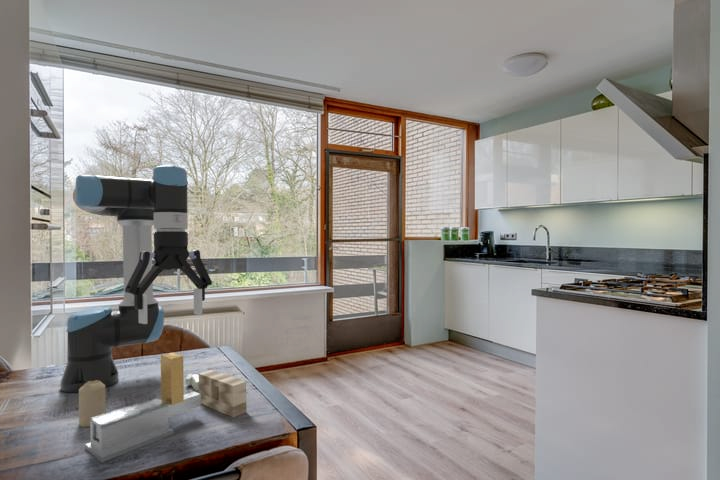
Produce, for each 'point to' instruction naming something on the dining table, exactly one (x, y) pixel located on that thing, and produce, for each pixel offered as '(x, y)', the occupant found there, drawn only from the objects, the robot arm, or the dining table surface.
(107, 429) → the sleeve
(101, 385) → the candle
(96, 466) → the dining table surface
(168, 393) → the tube
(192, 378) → the pipe fitting
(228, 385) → the socket block
